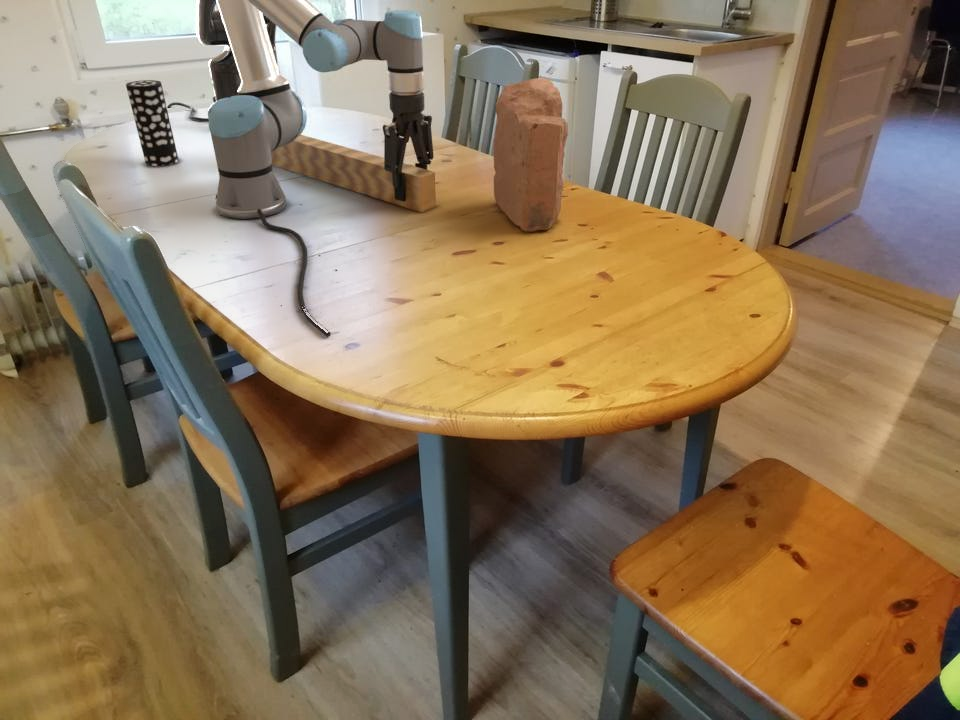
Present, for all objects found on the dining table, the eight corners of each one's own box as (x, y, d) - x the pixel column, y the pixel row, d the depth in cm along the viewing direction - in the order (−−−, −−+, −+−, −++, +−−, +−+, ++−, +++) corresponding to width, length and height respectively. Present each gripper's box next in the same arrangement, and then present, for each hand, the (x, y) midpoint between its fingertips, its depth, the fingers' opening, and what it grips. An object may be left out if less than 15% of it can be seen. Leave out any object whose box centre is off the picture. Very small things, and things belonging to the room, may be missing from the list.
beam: (435, 206, 160) (435, 172, 156) (421, 212, 157) (420, 177, 152) (271, 155, 189) (267, 125, 185) (256, 159, 186) (251, 128, 182)
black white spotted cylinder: (184, 157, 190) (167, 80, 179) (169, 166, 183) (151, 87, 172) (155, 156, 190) (136, 79, 179) (139, 165, 183) (119, 86, 172)
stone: (573, 229, 148) (583, 90, 134) (525, 235, 145) (529, 94, 131) (535, 200, 166) (540, 75, 151) (491, 204, 163) (492, 77, 148)
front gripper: (423, 82, 156) (426, 182, 168) (361, 96, 143) (369, 203, 155) (449, 86, 152) (450, 188, 165) (387, 102, 139) (393, 211, 151)
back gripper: (278, 74, 180) (287, 140, 190) (232, 83, 171) (244, 151, 180) (297, 78, 177) (305, 145, 186) (251, 87, 167) (262, 157, 176)
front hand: (411, 195), depth 160 cm, fingers open, 7 cm apart
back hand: (275, 148), depth 183 cm, fingers closed on beam, 5 cm apart
